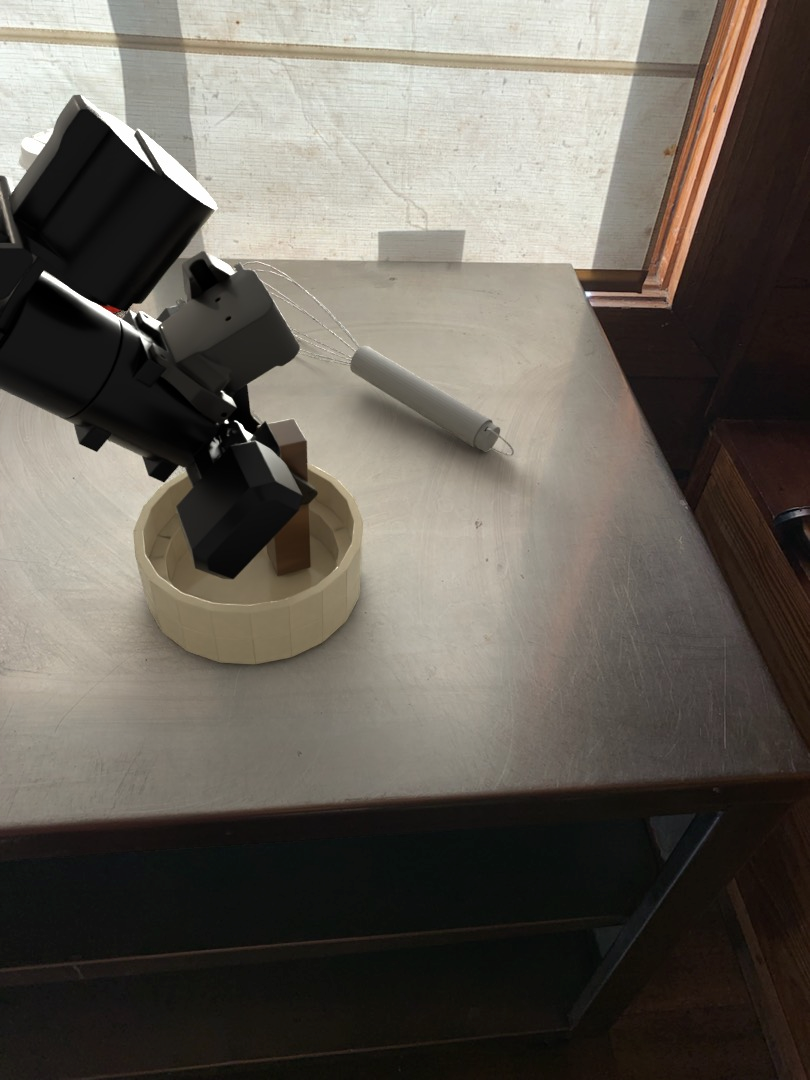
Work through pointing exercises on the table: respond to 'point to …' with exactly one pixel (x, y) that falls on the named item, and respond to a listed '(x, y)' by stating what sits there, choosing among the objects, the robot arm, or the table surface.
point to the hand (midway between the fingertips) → (305, 484)
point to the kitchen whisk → (408, 387)
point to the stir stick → (294, 538)
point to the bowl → (251, 581)
